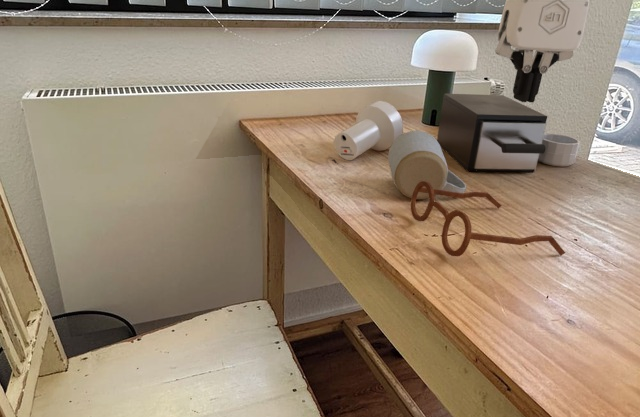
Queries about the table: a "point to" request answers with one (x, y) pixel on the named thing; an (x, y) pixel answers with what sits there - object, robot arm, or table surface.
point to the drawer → (509, 144)
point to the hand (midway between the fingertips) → (523, 100)
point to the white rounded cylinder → (559, 150)
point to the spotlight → (370, 131)
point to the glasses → (467, 220)
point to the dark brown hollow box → (477, 123)
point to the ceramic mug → (420, 165)
